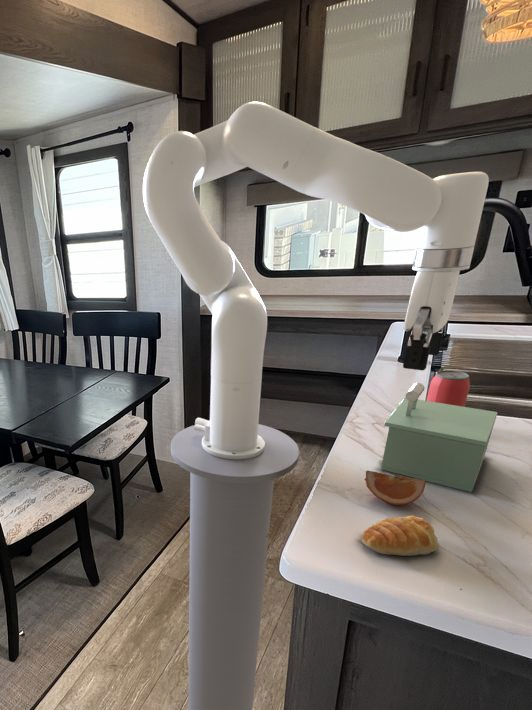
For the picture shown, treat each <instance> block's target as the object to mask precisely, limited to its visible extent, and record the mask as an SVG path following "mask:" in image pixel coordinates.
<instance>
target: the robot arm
mask: <svg viewBox="0 0 532 710" xmlns="http://www.w3.org/2000/svg"><path fill="white" fill-rule="evenodd" d="M246 168H249V169H252V170H254V171H256V172H257V173H259V174H262V175H264V176H266V177H268V178H270V179H272V180H274V181H276V182H278V183H280V184H281V185H284V186H286V187H288V188H290V189H292V190H294V191H296V192H298V193H301V194H304V195H306V196H309V197H312V198H317V199H321V200H322V199H323V200H327V201H330V202H333V203H337V204H338V205H339V204H340V205H342V206H345V207H347V208H349V209H351V210H354V211H356V212H358V213H360V214H362V215H364V216H365V219H366V220H367V222H368V223H369V225H371V226H373V227H375V228H377V229H381V230H385V231H393V232H399V233H406V232H407V233H408V232H412V231H416V230H418V235H417V240H416V244H415V245H416V246H415V252H414V256H413V263H412V268H411V269H412V270H413V271H416V275H415V277H414V281H413V285H412V287H411V293H410V297H409V301H408V303H407V308H406V309H407V310H406V314H405V318H404V322H403V327H402V329H403V331H405V332H409V331H411V333H410V335H409V338H408V340H407V345H406V348H405V352H404V358H403V364H402V368H404V369H407V370H415V371H425V370H426V369H427V365H428V361H429V356H438V355H439V353H440V350H441V345H442V341H443V336H444V329H445V328H444V327H445V326H446V324H447V323H448V322H449V319H450V315H451V311H452V308H453V304H454V300H455V295H456V292H457V286H458V282H459V278H460V277H459V276H460V273H461V271H464V270H469V269H470V267H471V262H472V259H473V254H474V250H475V245H476V241H477V235H478V232H479V227H480V224H481V218H482V214H483V211H484V205H485V201H486V197H487V192H488V188H489V182H490V178H489V175H488V173H486V172H484V171H467V172H459V173H449V174H443V175H439V176H436V177H433V178H432V177H430V176H429V175H426V174H425V173H423V172H421V171H419V170H418V169H415V168H414V167H411V166H409V165H406V164H405V163H402V162H400V161H399V160H396V159H394V158H392V157H389V156H387V155H384V154H382V153H380V152H377V151H374V150H372V149H369V148H365V147H363V146H361V145H358V144H356V143H354V142H351V141H348V140H346V139H343V138H340V137H337V136H335V135H334V134H331V133H329V132H326V131H324V130H322V129H320V128H318V127H315V126H313V125H311V124H309V123H307V122H305V121H303V120H301V119H299V118H297V117H295V116H293V115H291V114H290V113H287V112H285V111H283V110H280V109H279V108H276V107H274V106H273V105H271V104H270V105H269V104H267V103H266V102H262V101H249V102H246V103H243V104H242V105H240V106H239V107H238V108H236V109H235V111H234V112H233V113H232V114H231V115H230V116H229V118H228V119H227V120H225V121H223V122H221V123H219V124H218V123H217V124H216V125H213V126H211V127H209V128H206V129H204V130H202V131H198V132H197V133H194V134H193V133H192V132H189V131H186V130H178V131H173V132H170V133H169V134H167V135H165V136H164V137H163V138H162V139H161V140H160V141H159V142H158V143H157V144H156V146H155V147H154V149H153V150H152V153H151V155H150V157H149V159H148V162H147V164H146V167H145V170H144V175H143V181H142V200H143V205H144V209H145V212H146V215H147V217H148V220H149V222H150V224H151V226H152V228H153V229H154V231H155V233H156V234H157V236H158V238H159V239H160V241H161V243H162V244H163V246H164V248H165V249H166V252H167V253H168V255H169V257H170V258H171V260H172V261H173V263H174V264H175V266H176V267H177V269H178V271H179V272H180V274H181V276H182V278H183V280H184V282H185V284H186V285H187V287H189V289H190V290H191V291H193V292H194V293H196V294H198V295H199V296H200V298H201V300H202V301H203V303H204V304H205V306H206V307H207V308H208V310H209V312H210V314H211V315H212V317H211V355H210V356H211V358H210V399H209V400H210V401H209V402H210V405H209V420H208V419H206V418H202V417H197V418H195V421H194V425H195V427H194V430H197V431H202V432H204V434H205V436H204V437H203V438H202V447H203V449H204V450H205V451H206V452H208V453H209V454H211V455H214V456H216V457H220V458H224V459H233V460H240V459H248V458H252V457H256V456H258V455H260V454H261V453H262V452H263V451H264V448H265V442H264V440H263V439H262V438H261V437H260V436H259V435H258V424H259V420H260V406H261V394H262V393H261V392H262V380H263V365H264V353H265V346H266V339H267V338H266V337H267V331H268V314H267V313H268V312H267V309H266V306H265V303H264V302H263V300H262V298H261V296H260V294H259V292H258V291H257V289H256V288H255V286H254V285H253V283H252V281H251V280H250V278H249V276H248V275H247V273H246V271H245V270H244V269H243V267H242V265H241V263H240V262H239V260H238V259H237V256H236V255H235V253H234V252H233V250H232V249H231V247H230V246H229V245H228V244H227V243H226V242H225V241H223V240H221V238H220V237H219V235H218V234H217V233H216V231H215V229H214V227H213V226H212V225H211V223H210V220H209V219H208V217H207V215H206V213H205V212H204V211H203V209H202V207H201V205H200V204H199V202H198V200H197V197H196V193H195V188H196V187H199V186H202V185H203V184H206V183H209V182H211V181H214V180H217V179H220V178H222V177H225V176H228V175H231V174H233V173H236V172H238V171H240V170H243V169H246Z"/></svg>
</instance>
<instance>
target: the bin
mask: <svg viewBox="0 0 532 710" xmlns="http://www.w3.org/2000/svg"><path fill="white" fill-rule="evenodd" d="M496 420H497V418H496V419H495V422H494V424H493V427H492V430H491V433H490V435H489V438H488V441H487V444H486V446H482V445H477V444H472V443H467V442H462V441H457V440H452V439H447V438H442V437H437V436H432V435H427V434H422V433H417V432H412V431H407V430H401V429H396V428H391V427H388V432H387V435H386V441H385V446H384V452H383V457H382V460H381V467H380V470H382V471H386V472H390V473H393V474H397V475H400V476H405V477H408V478H416V479H422V480H425V482H429V483H433V484H437V485H441V486H445V487H449V488H453V489H456V490H460V491H464V492H468V493H473V490H474V488H475V485H476V483H477V479H478V477H479V474H480V471H481V468H482V464H483V462H484V459H485V456H486V453H487V449H488V446H489V443H490V440H491V437H492V433H493V430H494V427H495V423H496Z"/></svg>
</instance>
